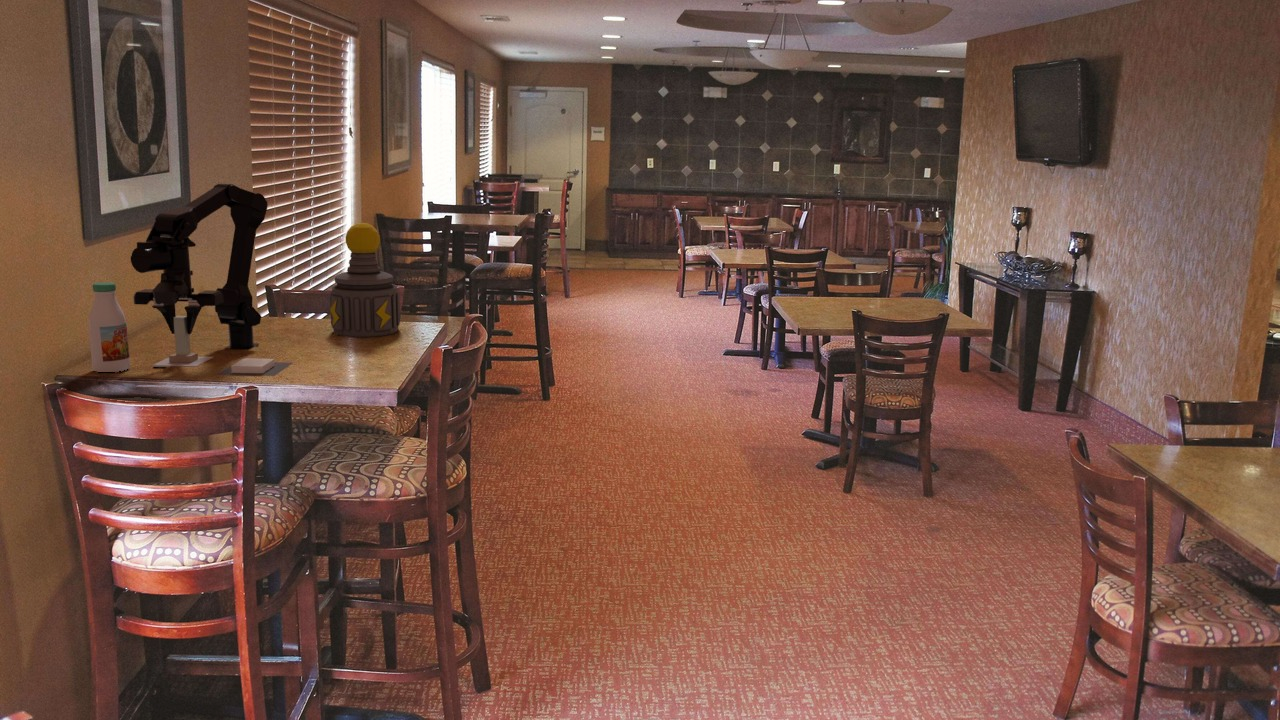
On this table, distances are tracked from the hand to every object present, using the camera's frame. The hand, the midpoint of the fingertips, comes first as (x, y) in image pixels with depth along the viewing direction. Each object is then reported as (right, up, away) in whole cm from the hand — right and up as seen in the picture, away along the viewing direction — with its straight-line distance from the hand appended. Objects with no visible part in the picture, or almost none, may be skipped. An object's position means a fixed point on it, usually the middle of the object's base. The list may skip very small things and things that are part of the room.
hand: (181, 333), depth 243 cm
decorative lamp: (+32, +2, +44) cm, 54 cm away
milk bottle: (-13, -9, -6) cm, 17 cm away
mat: (+19, -9, -4) cm, 21 cm away
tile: (+19, -7, -2) cm, 20 cm away
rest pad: (0, -7, +2) cm, 7 cm away
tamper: (0, -6, +1) cm, 6 cm away
